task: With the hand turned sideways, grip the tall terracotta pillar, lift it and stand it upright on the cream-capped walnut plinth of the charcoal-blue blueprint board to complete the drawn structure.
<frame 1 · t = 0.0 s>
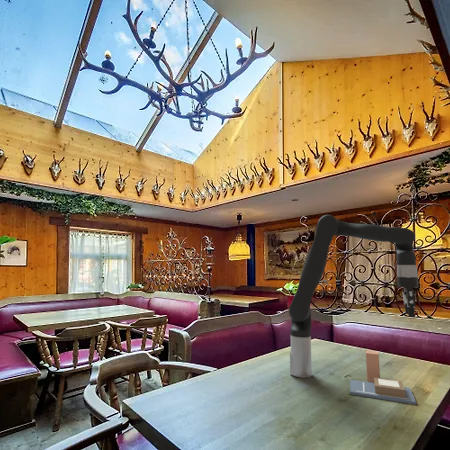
hand: (410, 315, 126), 29 cm above the table, tool pointing down, fingers open, 8 cm apart
blueprint board: (380, 392, 120), on the table
terracotta pillar: (373, 381, 132), on the table
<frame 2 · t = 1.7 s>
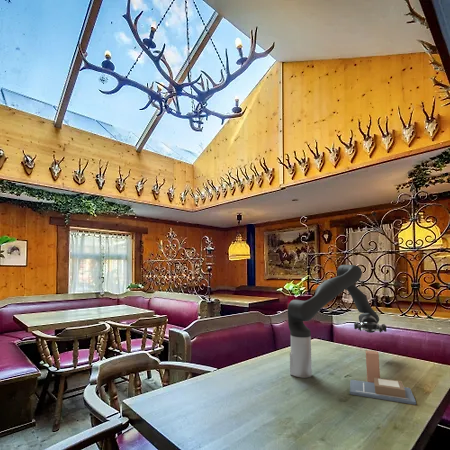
hand: (370, 329, 144), 20 cm above the table, tool horizontal, fingers open, 8 cm apart
nothing on the table moved.
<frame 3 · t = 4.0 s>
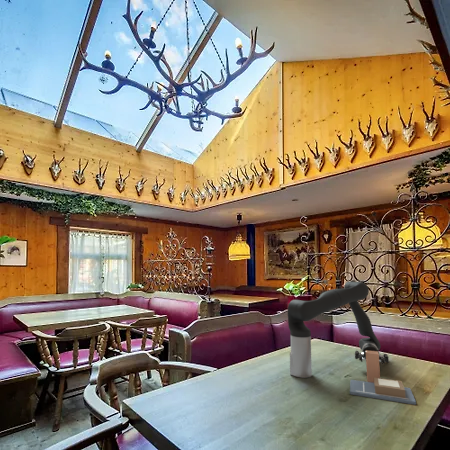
hand: (371, 360, 138), 7 cm above the table, tool horizontal, fingers open, 8 cm apart
nothing on the table moved.
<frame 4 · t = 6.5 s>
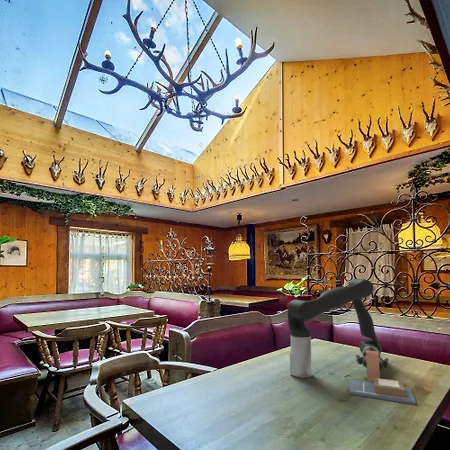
hand: (372, 365, 130), 7 cm above the table, tool horizontal, fingers closed on terracotta pillar, 5 cm apart
terracotta pillar: (373, 381, 132), on the table, touching gripper
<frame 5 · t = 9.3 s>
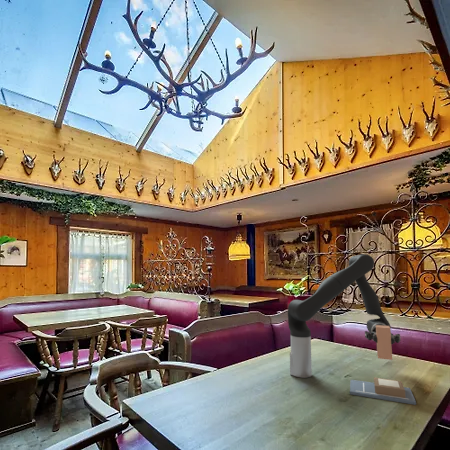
hand: (384, 340, 121), 20 cm above the table, tool horizontal, fingers closed on terracotta pillar, 5 cm apart
terracotta pillar: (384, 357, 123), point 13 cm above the table, touching gripper
when the fingers open (12 cm above the table, at t = 12.2 s): terracotta pillar drops 1 cm, resting on blueprint board.
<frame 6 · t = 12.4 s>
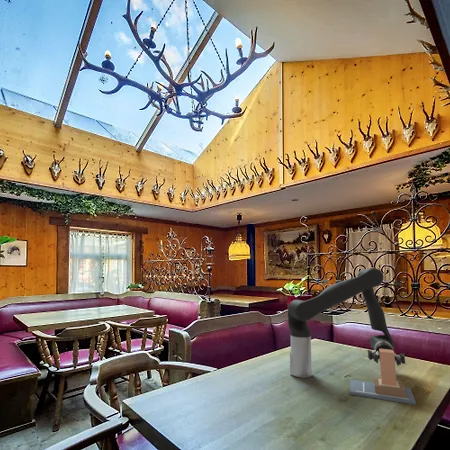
hand: (387, 361, 118), 12 cm above the table, tool horizontal, fingers open, 6 cm apart
terracotta pillar: (388, 382, 119), point 4 cm above the table, touching blueprint board
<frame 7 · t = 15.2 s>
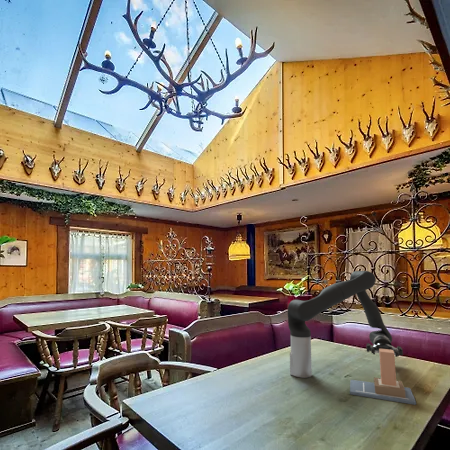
hand: (385, 353, 130), 13 cm above the table, tool horizontal, fingers open, 8 cm apart
nothing on the table moved.
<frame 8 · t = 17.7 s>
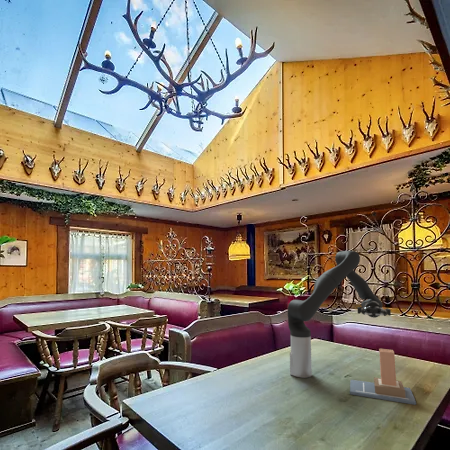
hand: (374, 313, 140), 28 cm above the table, tool horizontal, fingers open, 8 cm apart
nothing on the table moved.
at the end: terracotta pillar 0.0 cm from the target spot, point 4.0 cm above the table; terracotta pillar tilted 0°; the gripper is holding nothing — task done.
